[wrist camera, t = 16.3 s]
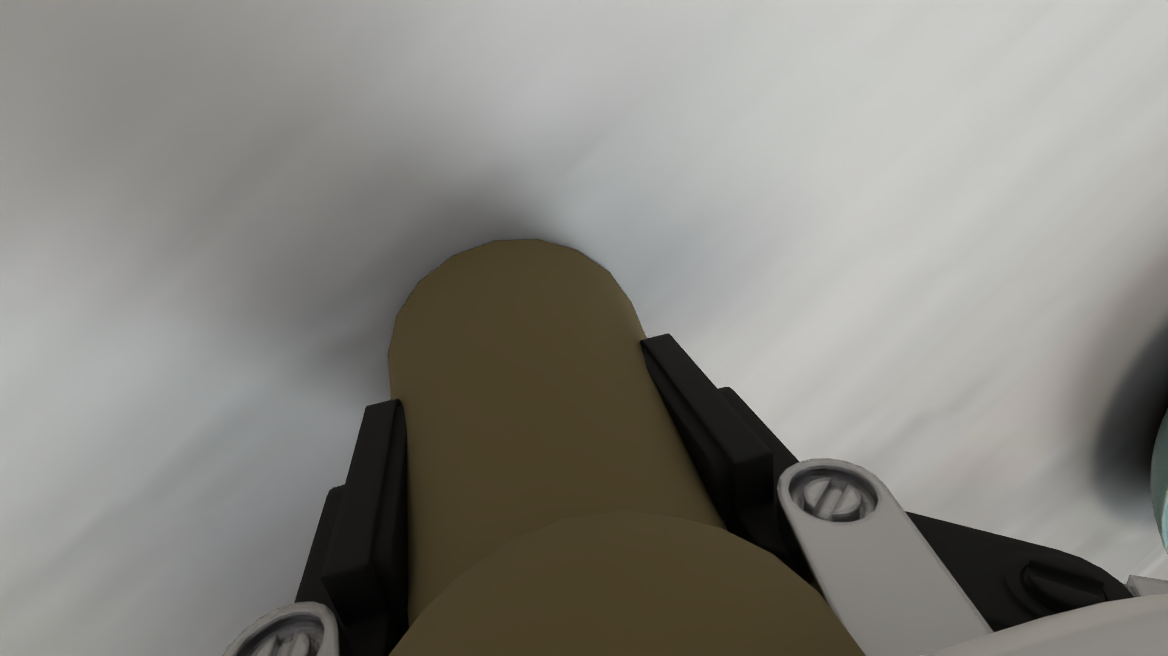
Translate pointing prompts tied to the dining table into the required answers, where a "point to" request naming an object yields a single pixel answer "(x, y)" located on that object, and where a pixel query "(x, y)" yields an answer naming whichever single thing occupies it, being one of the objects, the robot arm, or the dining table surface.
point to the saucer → (1161, 480)
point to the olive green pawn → (566, 481)
